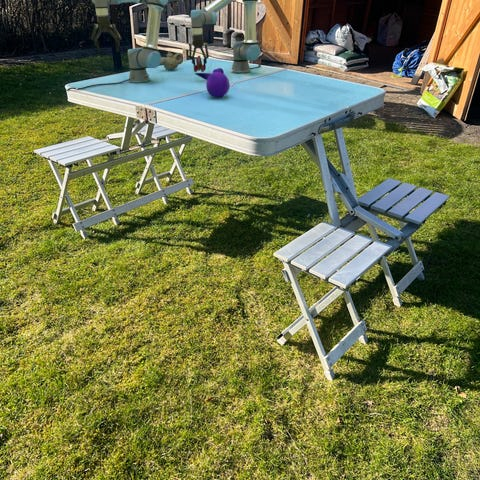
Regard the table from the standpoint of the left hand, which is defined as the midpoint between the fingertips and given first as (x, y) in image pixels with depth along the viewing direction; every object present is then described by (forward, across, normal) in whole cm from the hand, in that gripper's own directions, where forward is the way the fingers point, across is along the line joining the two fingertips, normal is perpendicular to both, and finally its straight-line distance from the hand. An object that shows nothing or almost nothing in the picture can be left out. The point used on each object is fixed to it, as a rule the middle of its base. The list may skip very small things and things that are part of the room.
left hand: (108, 51), depth 295 cm
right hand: (+17, -51, -40) cm, 67 cm away
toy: (+26, -72, +5) cm, 76 cm away
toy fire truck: (+18, -51, -40) cm, 67 cm away
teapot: (+26, -15, -84) cm, 89 cm away
